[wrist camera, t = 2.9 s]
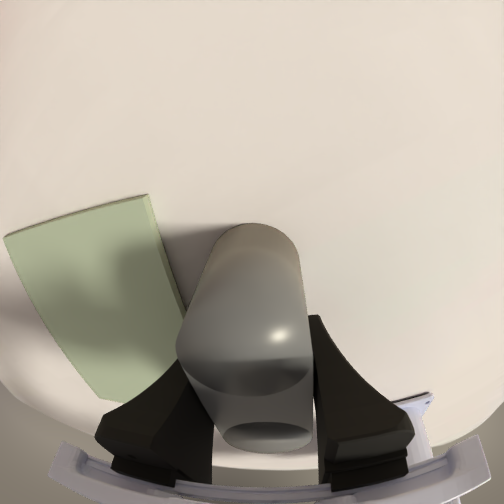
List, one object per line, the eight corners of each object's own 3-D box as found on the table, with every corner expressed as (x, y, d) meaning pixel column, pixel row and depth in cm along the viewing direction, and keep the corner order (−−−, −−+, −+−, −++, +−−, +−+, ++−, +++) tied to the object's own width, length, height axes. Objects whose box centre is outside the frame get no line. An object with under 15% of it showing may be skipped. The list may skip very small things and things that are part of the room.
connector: (307, 392, 17) (311, 463, 12) (249, 395, 17) (242, 465, 12) (295, 218, 11) (311, 300, 6) (201, 229, 12) (155, 312, 7)
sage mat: (226, 406, 18) (225, 413, 18) (101, 393, 20) (99, 398, 19) (148, 194, 11) (142, 198, 11) (8, 234, 13) (2, 238, 12)
